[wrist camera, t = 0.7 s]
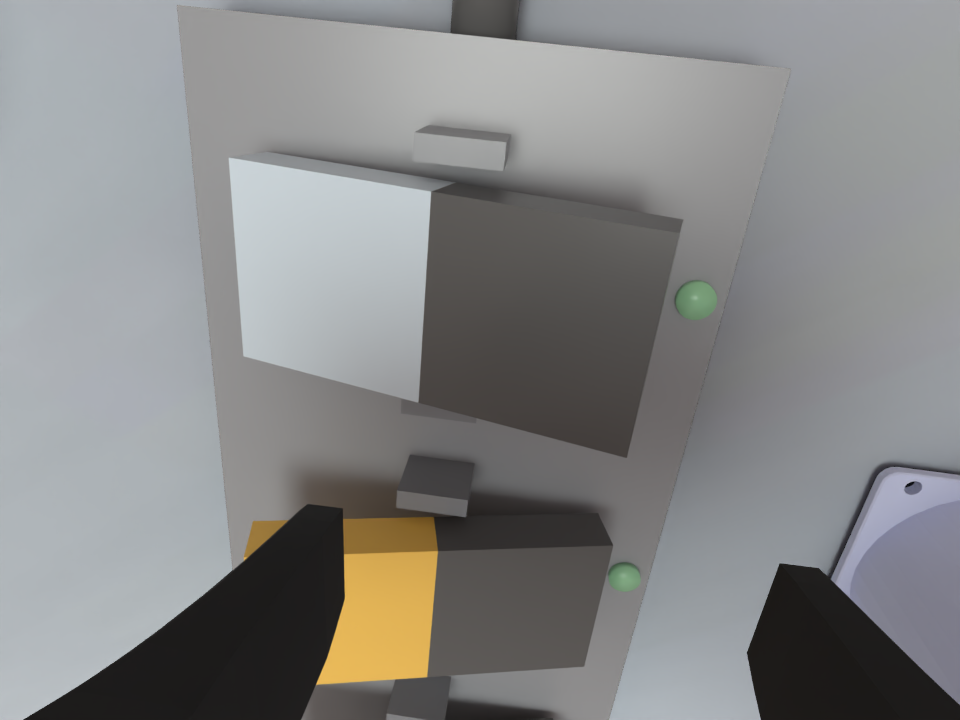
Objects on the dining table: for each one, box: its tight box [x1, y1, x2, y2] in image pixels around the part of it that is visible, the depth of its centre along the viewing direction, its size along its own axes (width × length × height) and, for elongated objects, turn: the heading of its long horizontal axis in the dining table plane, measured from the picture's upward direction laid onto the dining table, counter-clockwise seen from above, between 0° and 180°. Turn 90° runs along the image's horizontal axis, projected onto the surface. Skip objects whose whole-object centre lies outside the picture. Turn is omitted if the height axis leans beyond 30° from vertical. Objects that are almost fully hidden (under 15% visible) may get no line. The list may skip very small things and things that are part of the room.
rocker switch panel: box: [177, 0, 791, 720], centre depth 20 cm, size 14×35×4 cm, turn 174°
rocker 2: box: [244, 513, 613, 685], centre depth 19 cm, size 10×5×1 cm, turn 85°
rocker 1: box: [229, 152, 684, 458], centre depth 15 cm, size 10×5×1 cm, turn 84°
